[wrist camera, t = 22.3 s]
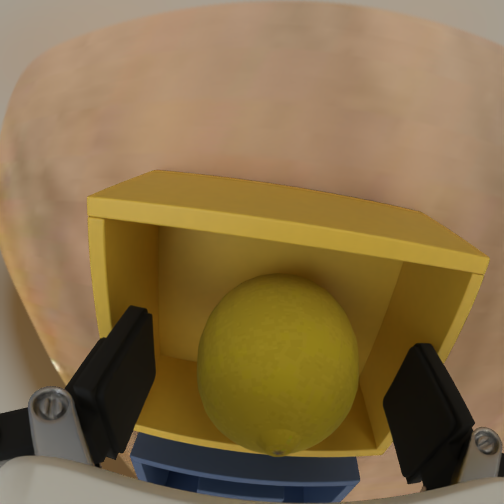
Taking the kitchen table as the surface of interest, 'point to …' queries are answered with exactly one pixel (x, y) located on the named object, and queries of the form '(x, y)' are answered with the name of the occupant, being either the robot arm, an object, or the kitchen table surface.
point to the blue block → (240, 490)
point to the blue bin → (243, 469)
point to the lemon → (277, 364)
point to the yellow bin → (268, 262)
